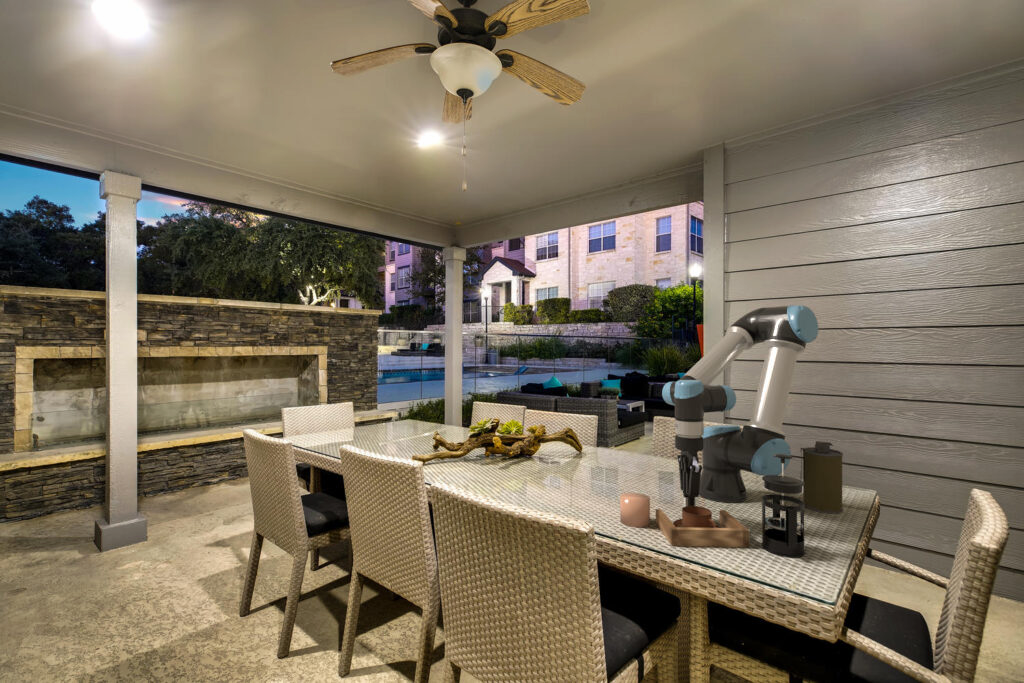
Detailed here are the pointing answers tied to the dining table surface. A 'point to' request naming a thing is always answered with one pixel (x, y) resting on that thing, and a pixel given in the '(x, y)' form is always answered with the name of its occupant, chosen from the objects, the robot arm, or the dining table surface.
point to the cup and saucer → (696, 518)
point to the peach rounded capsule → (635, 510)
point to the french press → (784, 529)
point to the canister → (822, 478)
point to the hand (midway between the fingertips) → (689, 519)
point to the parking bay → (705, 532)
